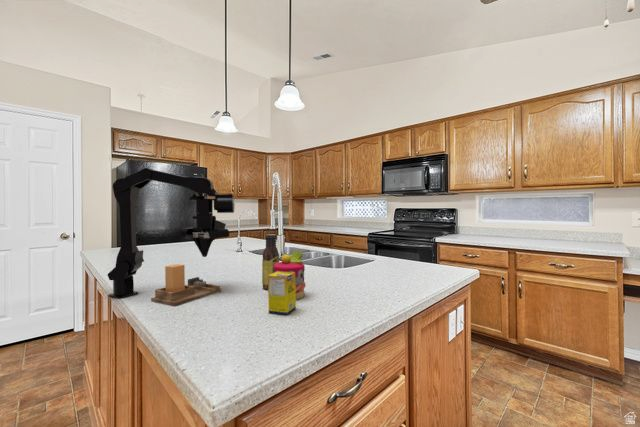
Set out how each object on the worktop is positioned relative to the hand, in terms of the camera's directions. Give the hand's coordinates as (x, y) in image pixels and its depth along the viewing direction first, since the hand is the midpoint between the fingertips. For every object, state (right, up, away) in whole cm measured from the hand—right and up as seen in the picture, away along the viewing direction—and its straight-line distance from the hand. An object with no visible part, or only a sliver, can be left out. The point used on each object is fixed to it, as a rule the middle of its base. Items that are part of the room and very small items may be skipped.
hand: (204, 256), depth 108 cm
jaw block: (-6, -12, -9) cm, 16 cm away
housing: (-4, -13, -5) cm, 14 cm away
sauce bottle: (+23, -12, +4) cm, 26 cm away
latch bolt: (-2, -11, +2) cm, 12 cm away
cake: (+31, -13, -7) cm, 34 cm away
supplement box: (+30, -13, -21) cm, 39 cm away
